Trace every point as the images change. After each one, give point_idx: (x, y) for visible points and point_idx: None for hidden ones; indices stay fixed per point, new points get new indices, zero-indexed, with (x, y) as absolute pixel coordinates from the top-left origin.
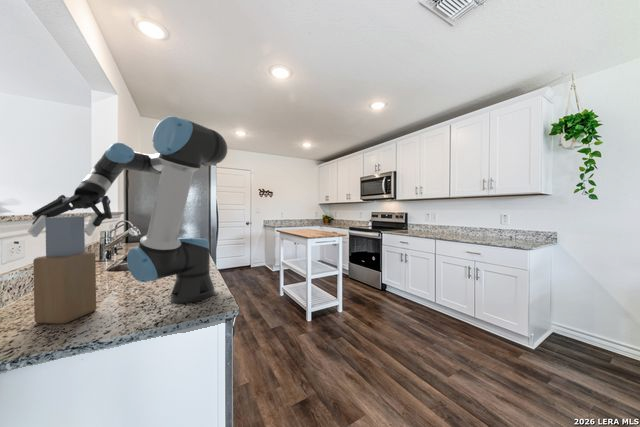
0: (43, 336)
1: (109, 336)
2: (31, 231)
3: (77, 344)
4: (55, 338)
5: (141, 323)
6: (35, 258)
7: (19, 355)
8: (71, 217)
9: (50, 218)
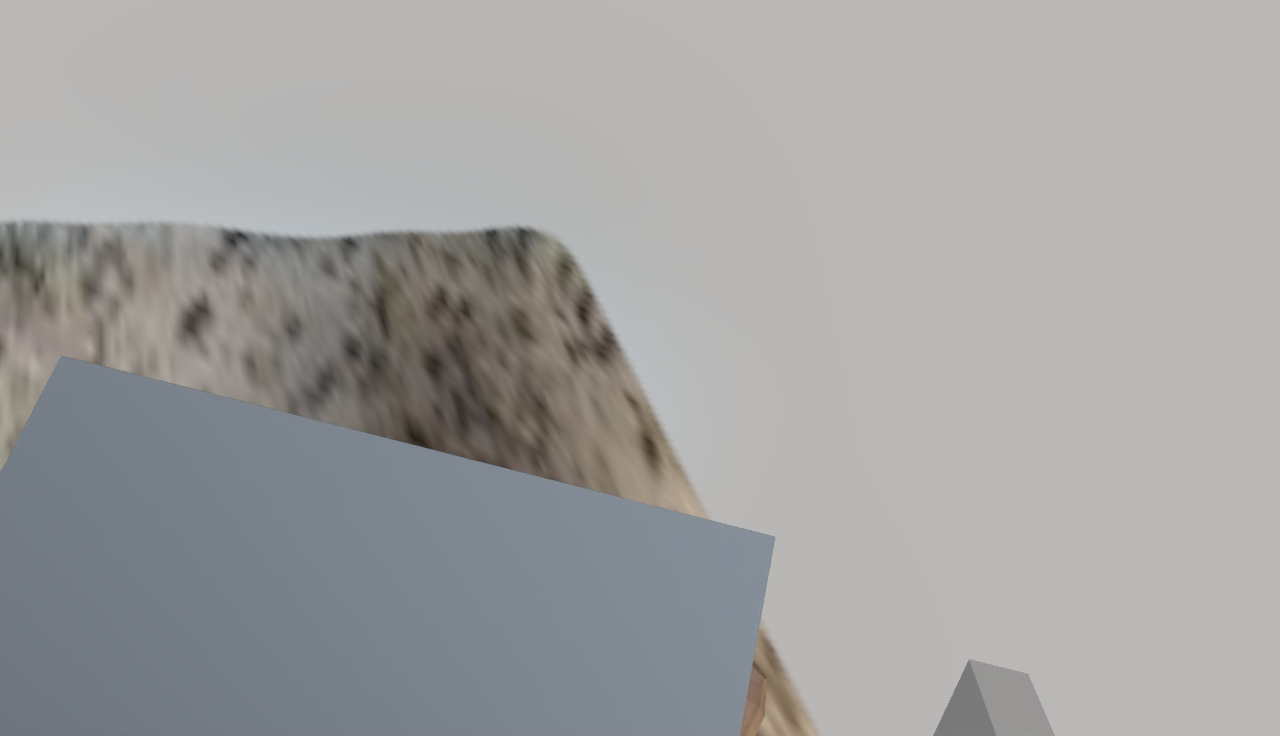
0: (516, 437)
1: (178, 255)
2: (966, 684)
3: (314, 240)
4: (443, 373)
5: (11, 349)
6: (753, 676)
7: (529, 253)
8: (33, 423)
9: (628, 516)
